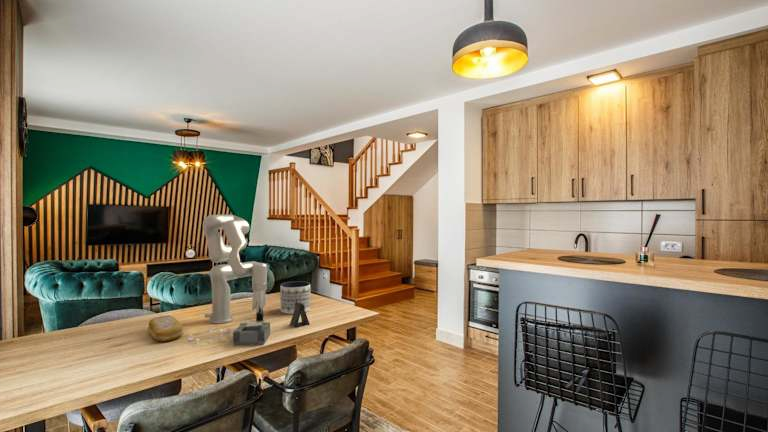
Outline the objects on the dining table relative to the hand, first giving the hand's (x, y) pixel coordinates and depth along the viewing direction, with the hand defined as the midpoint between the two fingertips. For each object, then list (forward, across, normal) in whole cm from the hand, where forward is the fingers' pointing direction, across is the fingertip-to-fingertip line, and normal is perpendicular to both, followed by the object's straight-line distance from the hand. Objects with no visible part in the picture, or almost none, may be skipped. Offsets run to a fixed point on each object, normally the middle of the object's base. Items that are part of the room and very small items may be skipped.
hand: (259, 321), depth 193 cm
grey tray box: (+2, +10, 0) cm, 10 cm away
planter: (+4, -35, +14) cm, 38 cm away
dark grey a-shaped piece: (+4, -6, +20) cm, 21 cm away
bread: (+5, +4, -45) cm, 46 cm away
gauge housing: (+4, +15, 0) cm, 16 cm away
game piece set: (+5, +9, -22) cm, 24 cm away
